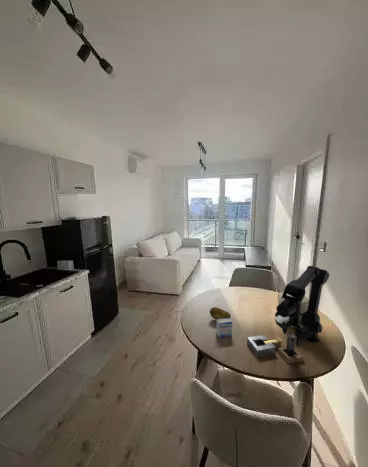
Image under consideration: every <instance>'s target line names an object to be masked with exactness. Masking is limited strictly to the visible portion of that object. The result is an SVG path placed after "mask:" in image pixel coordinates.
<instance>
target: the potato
mask: <svg viewBox="0 0 368 467" xmlns="http://www.w3.org/2000/svg"><path fill="white" fill-rule="evenodd" d="M209 314H210V317H211V318H212V319H214V320H217V319H225V318H230V319H231V317H232V316H231V314H230V313H229V311H227V310H224V309H222V308H219V307H217V306H214V307H211V308H210V309H209Z"/></svg>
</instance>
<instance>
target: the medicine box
mask: <svg viewBox="0 0 368 467" xmlns="http://www.w3.org/2000/svg"><path fill="white" fill-rule="evenodd" d="M215 320H216V319H215ZM215 322H216V323H215V324H216V327H215V329H216V330H215V333H216V335H217V337H218V338H224V337H230V336H232V334H233V321H232V320H231V317H230V318H225V319H217V320H216V321H215Z"/></svg>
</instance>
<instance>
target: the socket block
mask: <svg viewBox="0 0 368 467" xmlns="http://www.w3.org/2000/svg"><path fill="white" fill-rule="evenodd" d="M268 340H269V339H268V337H267V336H266V335H265V334H261V335H255V336H248V337H246V344H247V345H248V347H249V348H250V350H251V351H252V352H253V354H254V355H255V356H256V357H257V358H258V357H264V356H270V355H274V354H276V350H277V347H275V346H274V345H273V344H272V343H266V344H265V345H263V341H268Z"/></svg>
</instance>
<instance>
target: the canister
mask: <svg viewBox="0 0 368 467" xmlns="http://www.w3.org/2000/svg"><path fill="white" fill-rule="evenodd" d="M283 292H284V291H282V292H279V293H277V294H276V296H277V299H278V303H277V304H278V305H279V304H281V302H282V301H284V300H285V299H284V298H282V295H283ZM287 295H288V294H287ZM288 296H291V295H288ZM291 297H292V296H291ZM309 298H310V297H307V296H306V295H305V296H304V298H303V300H302V302H301V311H300V312H301V313H302V315H303V313H305V312H306V311H307V309H308V304H309ZM301 318H302V316H300V321H301ZM299 326H301V327H303V326H302V325H301V324H299ZM289 328H293V329H295V328H294V327H293V326H290V327H289Z"/></svg>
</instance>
